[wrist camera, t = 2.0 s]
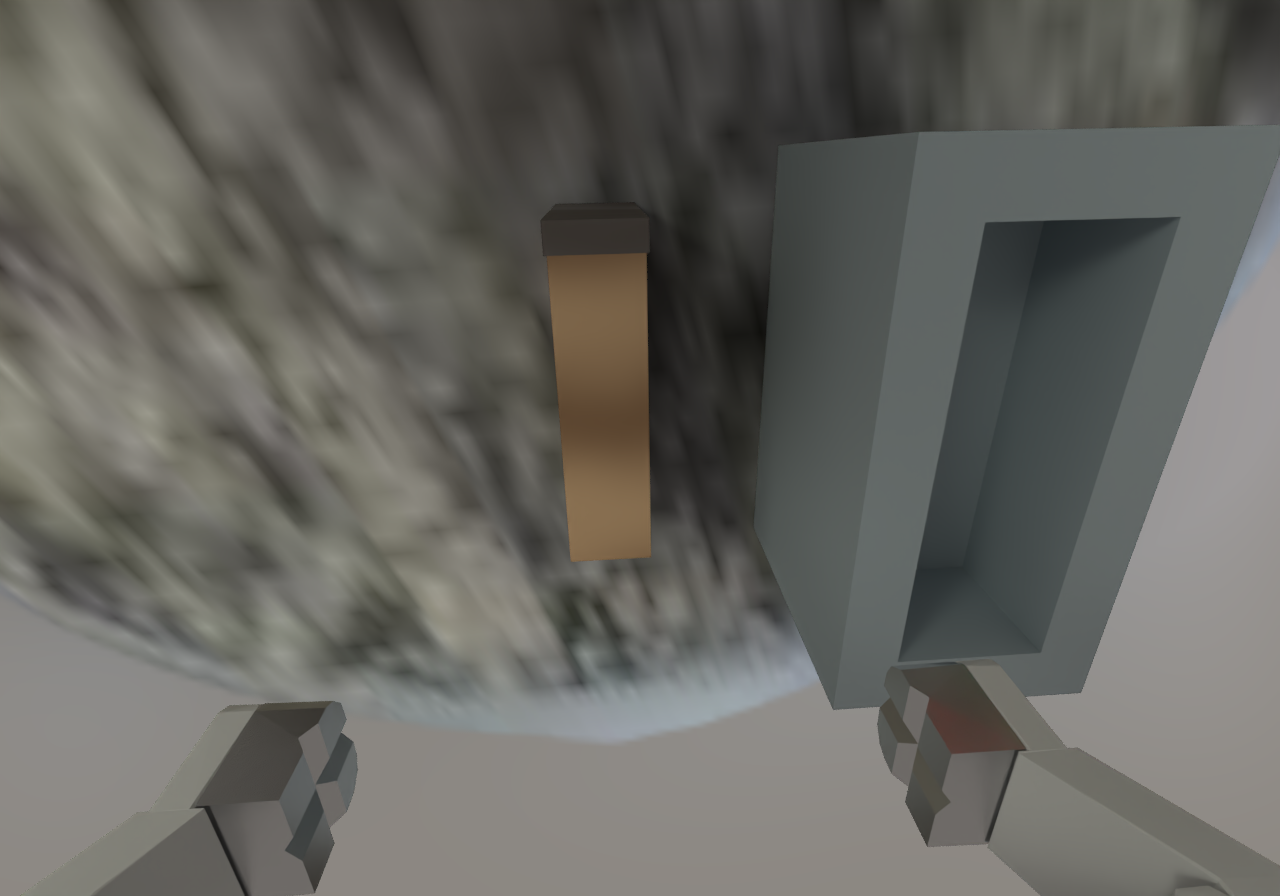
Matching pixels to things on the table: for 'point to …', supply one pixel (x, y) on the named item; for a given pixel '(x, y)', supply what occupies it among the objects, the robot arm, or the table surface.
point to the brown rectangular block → (602, 373)
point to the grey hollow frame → (984, 382)
